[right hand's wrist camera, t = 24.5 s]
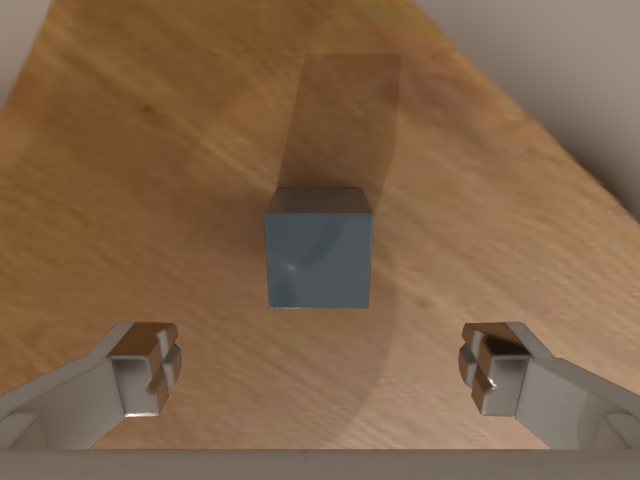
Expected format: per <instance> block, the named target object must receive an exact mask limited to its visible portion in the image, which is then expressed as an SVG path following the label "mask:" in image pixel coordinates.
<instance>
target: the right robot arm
mask: <svg viewBox="0 0 640 480" xmlns="http://www.w3.org/2000/svg"><path fill="white" fill-rule="evenodd" d="M177 337H178V332H177V328H176V325H175V324H174V323H162V322H119V323H116V324H115V325H114V326H113V327H112V328H111V330H110V331H109V332H108V333H107V334H106V335H105V336H104V337H103V338H102V339H101V340H100V341H99V343H98V344H97V345H96V346H95V347H94V348H93V349H92V350H91V351H90V352H89V353H88V354H87V355H86V357H85V358H77V359H75V360H73V361H71V362H69V363H67V364H65V365H63V366H61V367H59V368H57V369H55V370H52V371H50V372H48V373H46V374H44V375H42V376H40V377H38V378H36V379H34V380H32V381H30V382H28V383H26V384H23V385H21V386H19V387H17V388H15V389H13V390H11V391H9V392H7V393H5V394H3V395H1V396H0V480H640V396H639V395H637V394H635V393H633V392H631V391H629V390H627V389H625V388H623V387H621V386H618V385H616V384H614V383H612V382H610V381H608V380H606V379H604V378H602V377H600V376H598V375H596V374H594V373H592V372H590V371H587V370H585V369H583V368H581V367H579V366H577V365H575V364H573V363H571V362H569V361H567V360H565V359H563V358H555V357H554V355H553V354H552V353H551V352H550V351H549V350H548V349H547V348H546V347H545V346H544V345H543V344H542V342H541V341H540V340H539V339H538V338H537V337H536V336H535V335H534V334H533V333H532V332H531V331H530V330H529V328H528V327H527V326H526V325H525V324H524V323H521V322H501V323H465V325H464V328H463V332H462V337H463V339H464V340H465V342H466V343H465V344H464V345H463V346H462V347H461V348H460V350H459V358H458V361H459V370H460V374H461V377H462V379H463V381H464V383H465V384H466V385H468V386H469V387H470V388H472V394H471V397H472V399H473V400H474V402H475V404H476V406H477V408H478V410H479V412H480V414H481V416H512V417H515V419H516V420H518V421H519V422H520V423H521V424H522V425H524V426H525V427H526V428H527V429H528V430H530V431H531V432H532V433H533V434H535V435H536V436H537V437H538V438H539V439H541V440H542V441H543V442H544V443H545V444H547V445H548V446H549V447H550V448H552V449H89V448H90V447H91V446H92V445H93V444H95V443H96V442H97V441H98V440H100V439H101V438H102V437H103V436H104V435H106V434H107V433H108V432H109V431H110V430H112V429H113V428H114V427H115V426H117V425H118V424H119V423H120V422H121V421H123V420H124V419H125V417H128V416H159V414H160V412H161V410H162V408H163V406H164V404H165V402H166V401H167V399H168V397H169V394H168V388H170V387H171V386H172V385H174V384H175V383H176V381H177V379H178V377H179V373H180V369H181V350H180V348H179V347H178V346H177V345H176V344H175V343H174V342H175V340H176V339H177Z"/></svg>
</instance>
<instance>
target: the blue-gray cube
mask: <svg viewBox="0 0 640 480" xmlns="http://www.w3.org/2000/svg"><path fill="white" fill-rule="evenodd" d="M373 218H374V214H373V211H372V209H371V207H370V205H369V203H368V201H367V199H366V197H365V194H364V192H363V190H362V189H361V188H277V189H276V190H275V192H274V194H273V196H272V198H271V200H270V202H269V204H268V207H267V209H266V211H265V213H264V225H265V243H266V261H267V279H268V297H269V308H368V307H369V291H370V273H371V255H372V237H373Z"/></svg>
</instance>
